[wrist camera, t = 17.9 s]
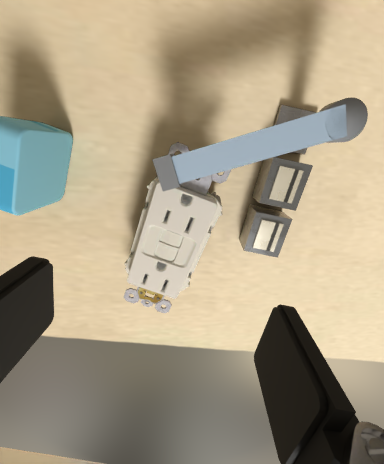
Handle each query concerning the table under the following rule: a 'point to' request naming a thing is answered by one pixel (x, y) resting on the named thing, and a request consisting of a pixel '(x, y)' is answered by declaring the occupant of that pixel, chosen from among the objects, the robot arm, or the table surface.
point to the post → (291, 118)
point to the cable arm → (265, 143)
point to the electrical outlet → (171, 237)
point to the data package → (32, 164)
